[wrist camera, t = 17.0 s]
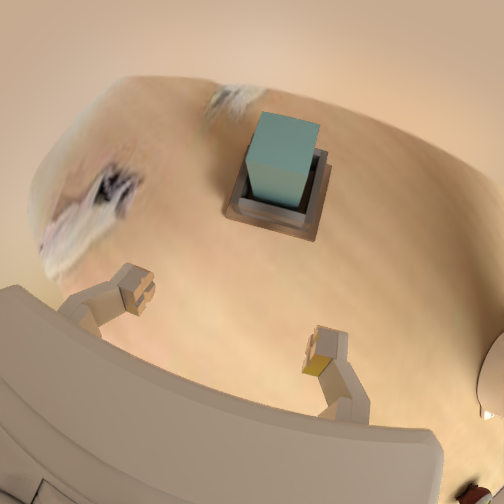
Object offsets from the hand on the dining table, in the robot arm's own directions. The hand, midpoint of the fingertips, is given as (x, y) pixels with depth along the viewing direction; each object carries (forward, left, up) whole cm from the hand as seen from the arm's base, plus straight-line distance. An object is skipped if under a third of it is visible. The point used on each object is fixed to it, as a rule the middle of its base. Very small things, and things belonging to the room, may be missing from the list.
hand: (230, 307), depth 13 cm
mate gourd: (-57, +33, -20) cm, 69 cm away
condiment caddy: (+1, -13, -20) cm, 24 cm away
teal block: (+1, -13, -19) cm, 23 cm away
